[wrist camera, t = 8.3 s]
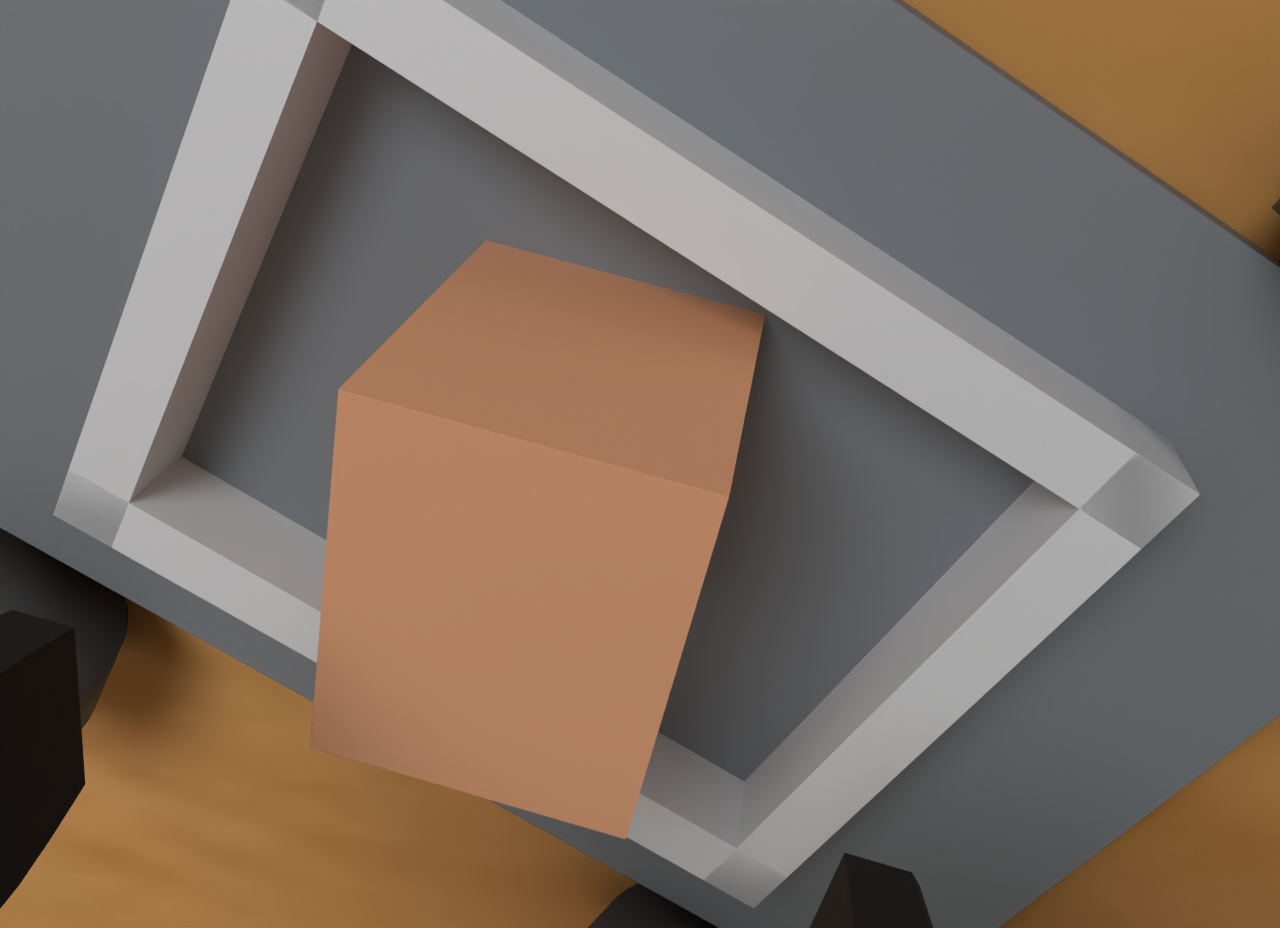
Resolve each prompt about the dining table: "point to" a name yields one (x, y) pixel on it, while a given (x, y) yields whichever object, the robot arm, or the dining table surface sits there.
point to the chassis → (775, 416)
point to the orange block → (527, 530)
